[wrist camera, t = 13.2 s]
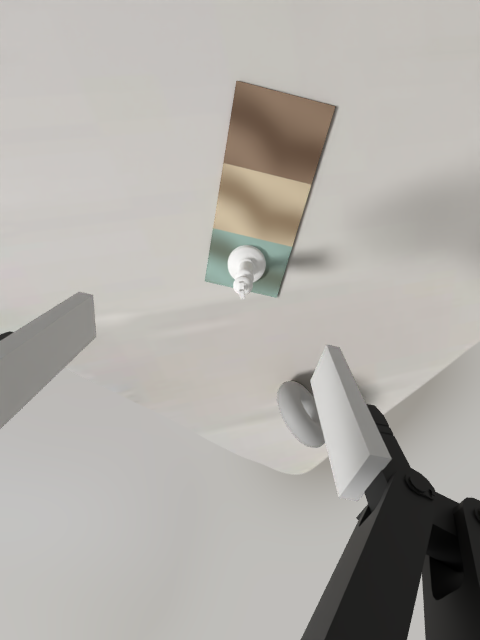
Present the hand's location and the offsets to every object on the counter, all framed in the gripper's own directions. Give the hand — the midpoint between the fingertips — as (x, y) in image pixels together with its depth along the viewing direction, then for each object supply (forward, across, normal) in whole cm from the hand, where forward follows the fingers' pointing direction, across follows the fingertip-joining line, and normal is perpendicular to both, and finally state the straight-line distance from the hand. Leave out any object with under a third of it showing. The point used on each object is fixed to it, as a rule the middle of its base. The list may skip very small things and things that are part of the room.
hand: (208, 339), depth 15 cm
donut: (+21, +14, -20) cm, 32 cm away
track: (+21, +2, +6) cm, 22 cm away
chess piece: (+21, +2, -1) cm, 21 cm away
